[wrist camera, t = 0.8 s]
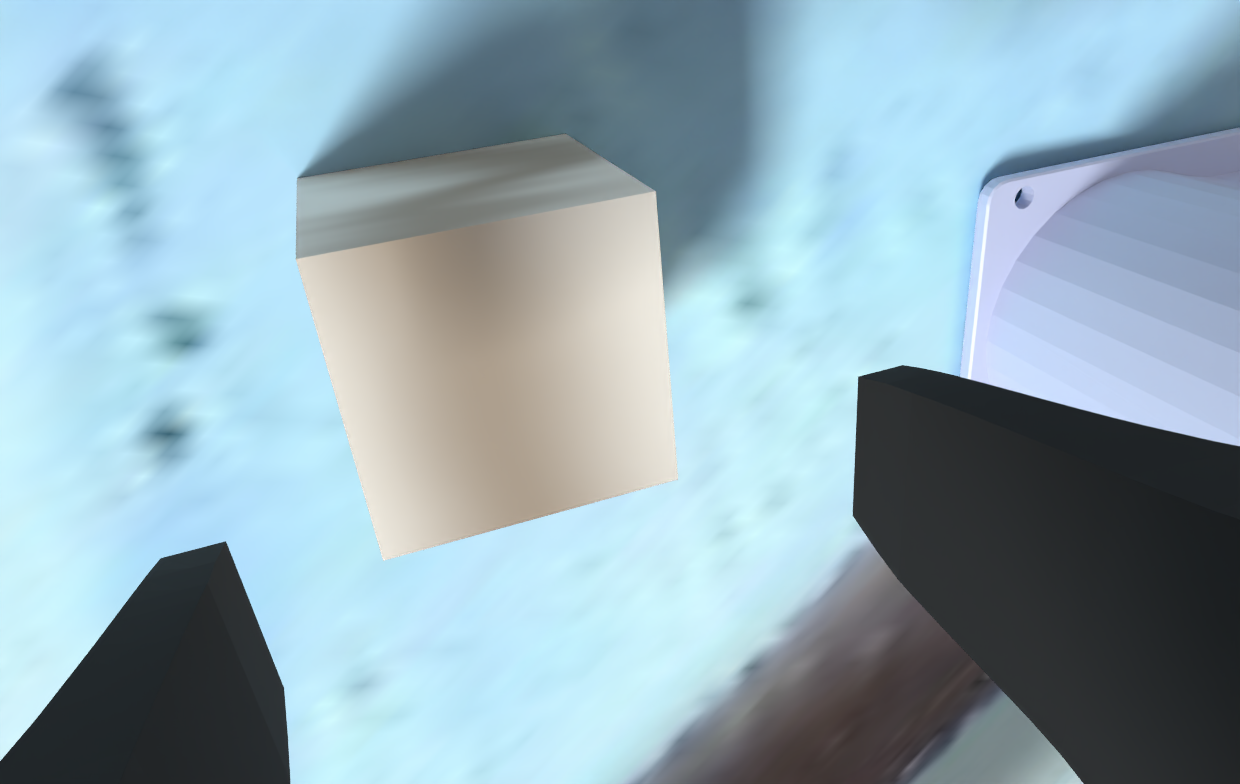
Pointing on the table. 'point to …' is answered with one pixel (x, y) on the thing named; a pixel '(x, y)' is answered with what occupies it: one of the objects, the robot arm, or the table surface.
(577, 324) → the cream cube
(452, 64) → the table surface
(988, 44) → the table surface
